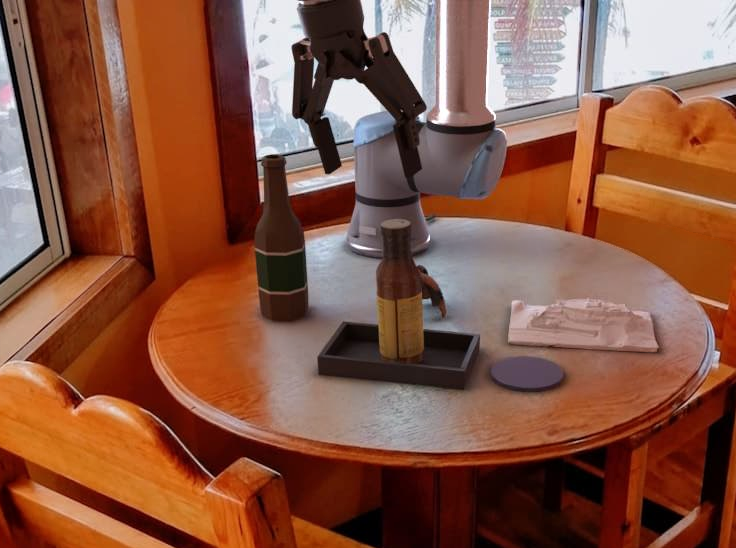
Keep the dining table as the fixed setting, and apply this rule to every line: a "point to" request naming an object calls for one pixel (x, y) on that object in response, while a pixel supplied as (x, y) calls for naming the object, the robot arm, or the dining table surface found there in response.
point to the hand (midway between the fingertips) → (372, 172)
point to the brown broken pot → (431, 290)
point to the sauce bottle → (399, 296)
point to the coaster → (526, 373)
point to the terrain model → (582, 326)
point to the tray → (363, 361)
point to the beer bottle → (280, 249)
